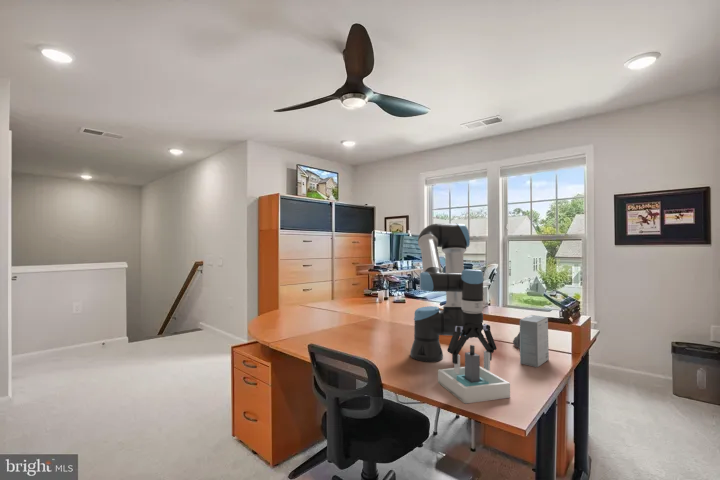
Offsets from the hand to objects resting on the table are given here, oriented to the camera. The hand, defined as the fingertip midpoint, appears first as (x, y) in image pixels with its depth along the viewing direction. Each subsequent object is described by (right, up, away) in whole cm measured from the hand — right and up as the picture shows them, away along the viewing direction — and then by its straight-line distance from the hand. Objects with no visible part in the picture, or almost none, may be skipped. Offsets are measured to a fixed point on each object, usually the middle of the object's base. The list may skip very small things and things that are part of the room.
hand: (472, 370), depth 123 cm
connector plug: (0, -6, 0) cm, 6 cm away
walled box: (0, -7, 0) cm, 7 cm away
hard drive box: (+39, -8, +31) cm, 51 cm away
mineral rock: (+44, -9, +52) cm, 68 cm away
